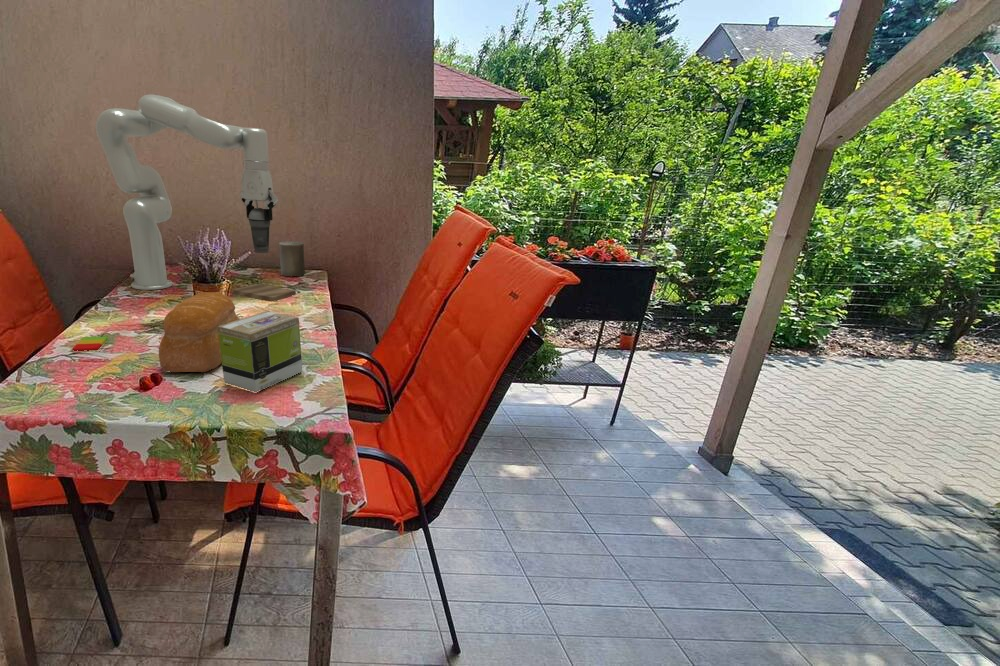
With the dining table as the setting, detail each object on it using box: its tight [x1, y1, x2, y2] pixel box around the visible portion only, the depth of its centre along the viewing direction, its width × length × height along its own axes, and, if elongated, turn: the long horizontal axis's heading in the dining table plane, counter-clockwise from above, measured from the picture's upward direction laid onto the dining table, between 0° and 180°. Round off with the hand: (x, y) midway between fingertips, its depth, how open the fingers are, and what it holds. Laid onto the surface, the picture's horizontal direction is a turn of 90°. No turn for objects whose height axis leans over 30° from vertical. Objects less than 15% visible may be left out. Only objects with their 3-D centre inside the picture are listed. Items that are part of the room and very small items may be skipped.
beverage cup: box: [247, 201, 271, 254], centre depth 187 cm, size 7×7×20 cm
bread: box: [158, 291, 240, 373], centre depth 135 cm, size 14×26×15 cm, turn 9°
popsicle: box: [72, 332, 109, 351], centre depth 139 cm, size 6×15×2 cm, turn 21°
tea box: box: [218, 310, 303, 392], centre depth 124 cm, size 15×10×15 cm, turn 157°
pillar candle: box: [278, 239, 306, 278], centre depth 225 cm, size 10×10×15 cm
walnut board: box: [231, 283, 297, 302], centre depth 195 cm, size 18×12×2 cm, turn 71°
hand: (259, 218), depth 187 cm, fingers closed on beverage cup, 7 cm apart
